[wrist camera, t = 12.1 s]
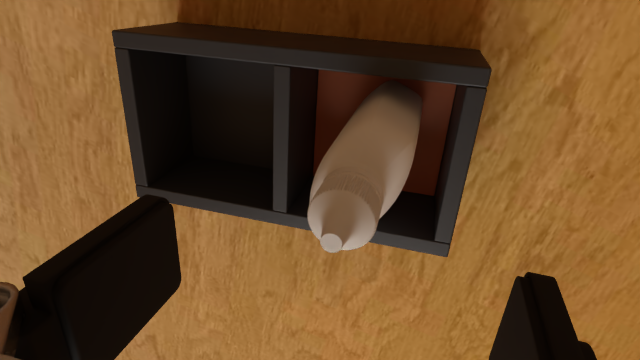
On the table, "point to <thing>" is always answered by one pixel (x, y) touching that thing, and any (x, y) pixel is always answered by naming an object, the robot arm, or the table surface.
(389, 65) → the divided storage box
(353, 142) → the eye dropper bottle
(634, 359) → the table surface
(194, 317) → the table surface
